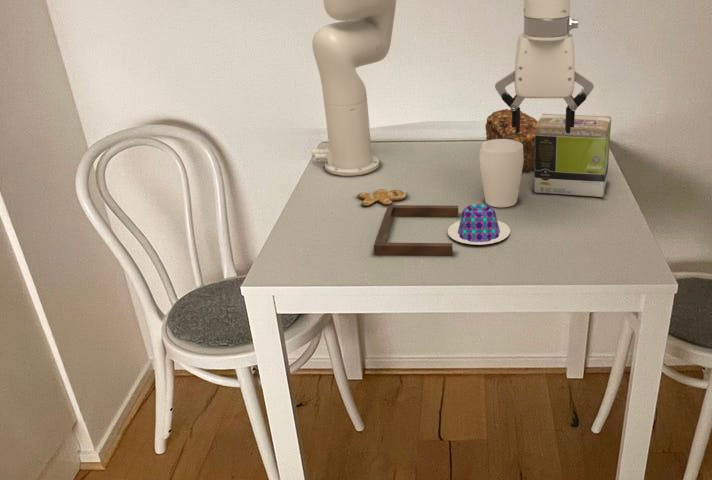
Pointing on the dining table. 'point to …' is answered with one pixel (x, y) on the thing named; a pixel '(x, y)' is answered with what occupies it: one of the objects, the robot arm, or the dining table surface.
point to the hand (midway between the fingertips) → (542, 130)
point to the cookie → (382, 196)
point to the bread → (514, 133)
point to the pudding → (478, 226)
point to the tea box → (572, 155)
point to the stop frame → (413, 248)
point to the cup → (501, 171)
